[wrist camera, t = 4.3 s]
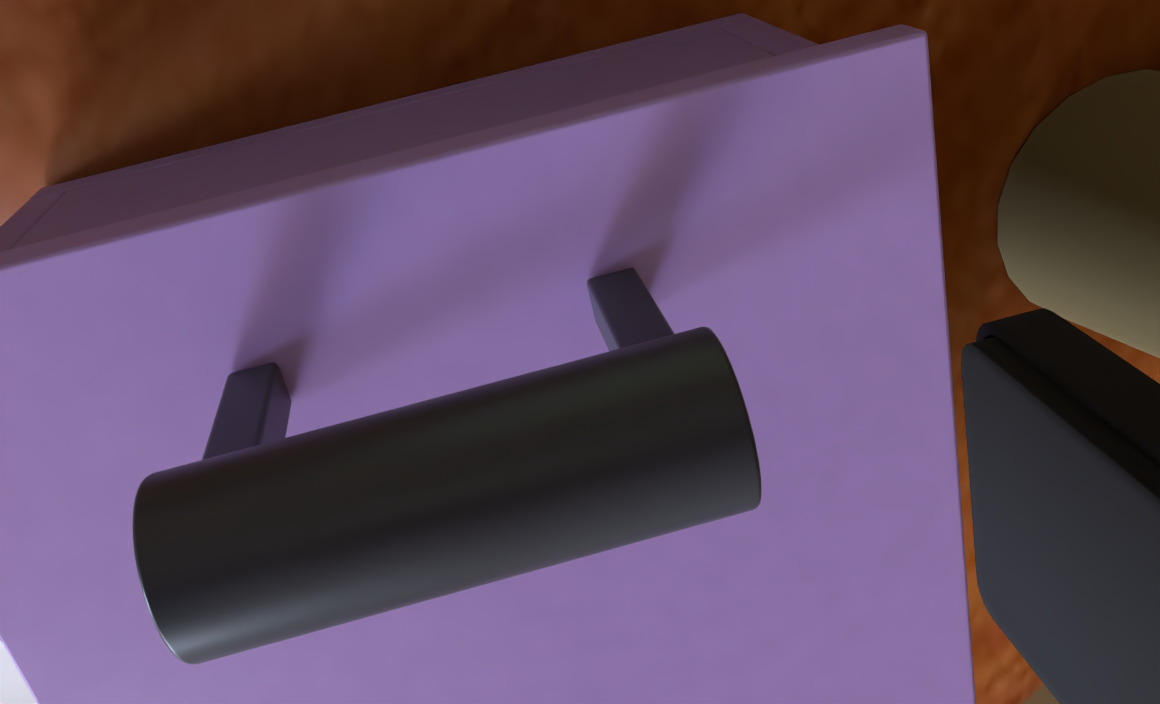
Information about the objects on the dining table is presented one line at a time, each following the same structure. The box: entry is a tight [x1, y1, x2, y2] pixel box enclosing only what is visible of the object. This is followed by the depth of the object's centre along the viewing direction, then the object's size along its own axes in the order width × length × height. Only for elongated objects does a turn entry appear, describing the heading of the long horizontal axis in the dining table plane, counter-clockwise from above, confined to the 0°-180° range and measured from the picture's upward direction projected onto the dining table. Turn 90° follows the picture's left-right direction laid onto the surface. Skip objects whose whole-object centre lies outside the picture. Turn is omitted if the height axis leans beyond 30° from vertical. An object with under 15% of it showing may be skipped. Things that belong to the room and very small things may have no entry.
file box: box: [0, 13, 819, 252], centre depth 21 cm, size 13×15×8 cm
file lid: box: [0, 24, 976, 704], centre depth 15 cm, size 13×15×6 cm
